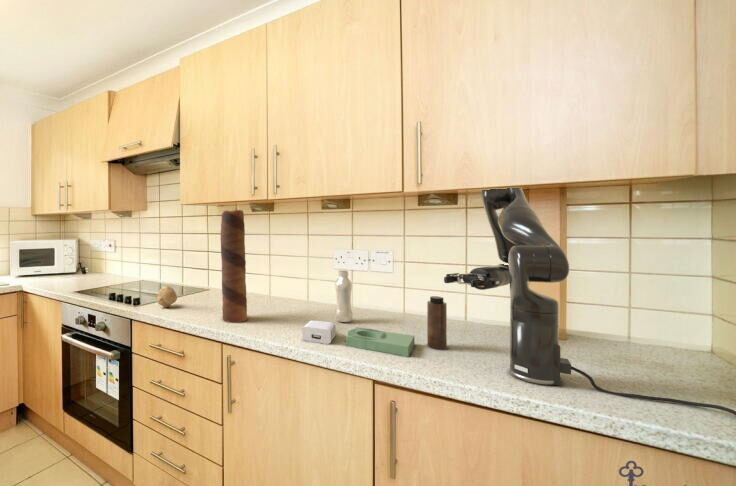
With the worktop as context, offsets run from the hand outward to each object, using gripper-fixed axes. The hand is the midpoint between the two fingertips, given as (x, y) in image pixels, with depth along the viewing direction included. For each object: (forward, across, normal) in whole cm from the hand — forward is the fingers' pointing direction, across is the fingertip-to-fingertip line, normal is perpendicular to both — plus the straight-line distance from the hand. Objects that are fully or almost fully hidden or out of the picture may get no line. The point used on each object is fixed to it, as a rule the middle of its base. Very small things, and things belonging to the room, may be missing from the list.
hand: (458, 281), depth 118 cm
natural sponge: (+70, -93, +20) cm, 118 cm away
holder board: (+25, -9, +19) cm, 33 cm away
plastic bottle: (+16, -35, +20) cm, 43 cm away
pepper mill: (+11, 0, +19) cm, 22 cm away
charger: (+36, -25, +20) cm, 48 cm away
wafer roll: (+52, -58, +20) cm, 81 cm away
